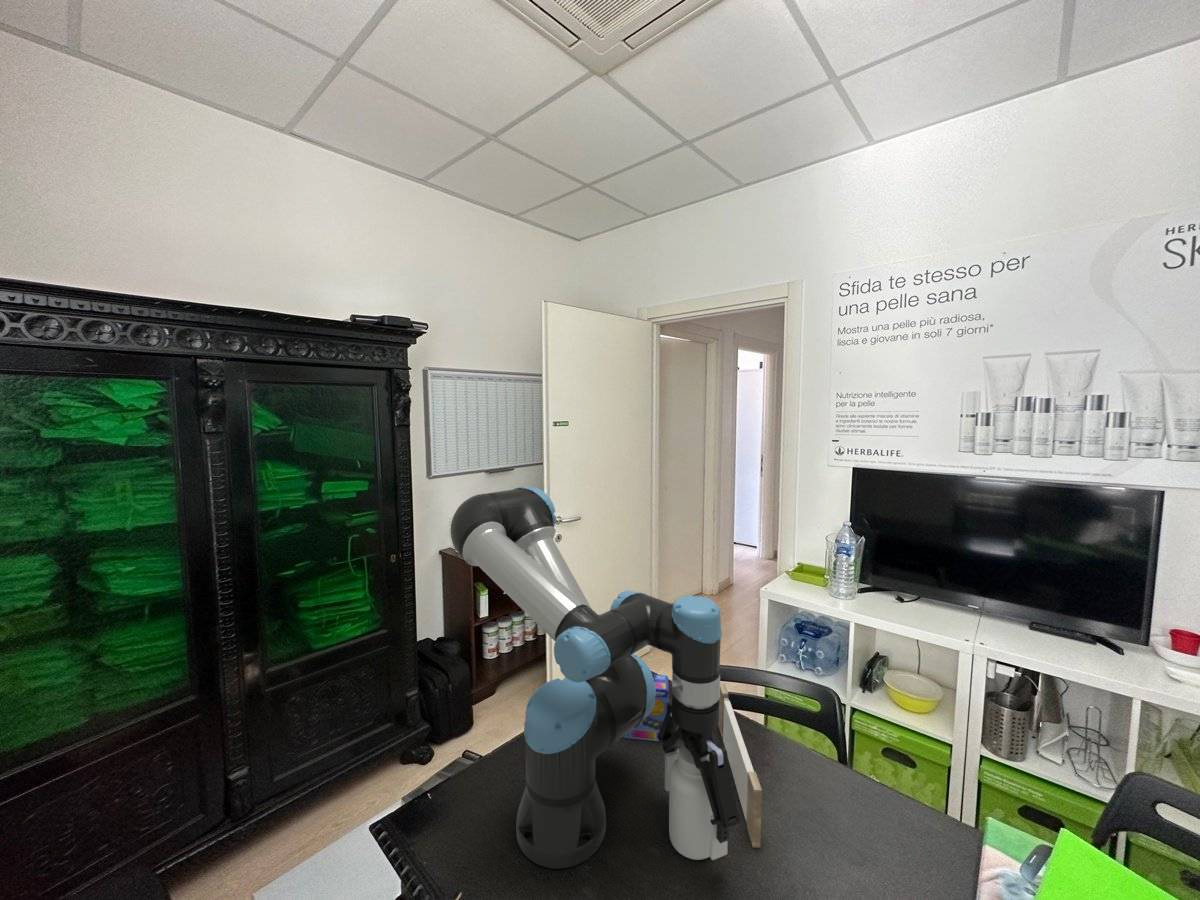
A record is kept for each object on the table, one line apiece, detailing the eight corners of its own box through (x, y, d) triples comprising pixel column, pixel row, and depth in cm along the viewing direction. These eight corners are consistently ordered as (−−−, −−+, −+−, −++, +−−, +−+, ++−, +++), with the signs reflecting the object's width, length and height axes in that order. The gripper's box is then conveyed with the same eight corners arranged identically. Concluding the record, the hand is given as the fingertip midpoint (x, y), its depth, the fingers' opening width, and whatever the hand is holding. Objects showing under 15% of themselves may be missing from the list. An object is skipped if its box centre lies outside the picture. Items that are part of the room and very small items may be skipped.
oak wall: (752, 847, 76) (754, 789, 75) (718, 726, 105) (719, 683, 104) (760, 847, 76) (762, 790, 75) (724, 726, 104) (725, 683, 104)
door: (746, 821, 80) (747, 772, 79) (722, 737, 101) (723, 697, 100) (753, 822, 80) (754, 772, 79) (727, 737, 100) (728, 697, 100)
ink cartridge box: (621, 739, 100) (621, 675, 99) (623, 722, 106) (623, 661, 105) (668, 743, 99) (669, 678, 98) (667, 726, 105) (668, 664, 103)
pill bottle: (714, 819, 81) (715, 737, 80) (721, 864, 73) (723, 774, 72) (667, 815, 82) (668, 734, 80) (669, 859, 74) (671, 770, 72)
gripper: (639, 661, 85) (639, 770, 87) (723, 755, 62) (720, 901, 64) (675, 653, 88) (674, 759, 90) (768, 740, 65) (764, 881, 67)
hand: (693, 818), depth 77 cm, fingers open, 13 cm apart
